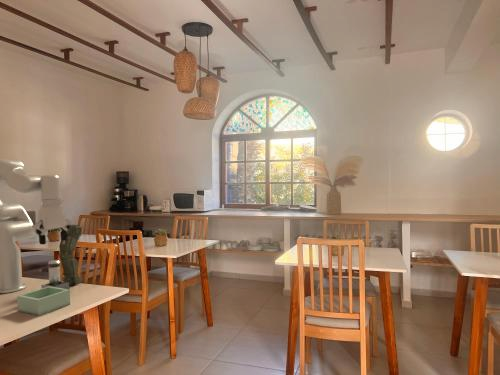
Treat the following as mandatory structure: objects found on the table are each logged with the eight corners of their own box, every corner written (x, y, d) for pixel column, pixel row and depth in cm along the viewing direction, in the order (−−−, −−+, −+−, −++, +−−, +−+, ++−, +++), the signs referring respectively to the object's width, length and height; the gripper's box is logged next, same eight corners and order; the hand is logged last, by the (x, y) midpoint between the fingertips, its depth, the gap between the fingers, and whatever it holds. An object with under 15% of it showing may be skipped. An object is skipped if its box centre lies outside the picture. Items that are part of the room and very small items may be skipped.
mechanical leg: (64, 288, 162) (72, 223, 168) (50, 288, 163) (59, 223, 169) (84, 287, 175) (90, 226, 181) (71, 286, 176) (78, 226, 183)
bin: (18, 311, 137) (17, 295, 137) (50, 300, 149) (49, 286, 149) (38, 316, 131) (37, 300, 131) (70, 304, 143) (69, 289, 143)
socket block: (41, 296, 154) (40, 285, 154) (58, 291, 161) (57, 280, 161) (52, 299, 150) (52, 287, 150) (69, 293, 158) (69, 282, 157)
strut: (47, 289, 155) (45, 261, 154) (56, 286, 159) (55, 259, 158) (53, 290, 153) (52, 262, 152) (63, 287, 157) (62, 260, 156)
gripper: (64, 201, 164) (66, 238, 165) (26, 205, 149) (28, 245, 149) (74, 201, 161) (76, 239, 161) (37, 204, 145) (39, 246, 146)
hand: (53, 242), depth 155 cm, fingers open, 9 cm apart
